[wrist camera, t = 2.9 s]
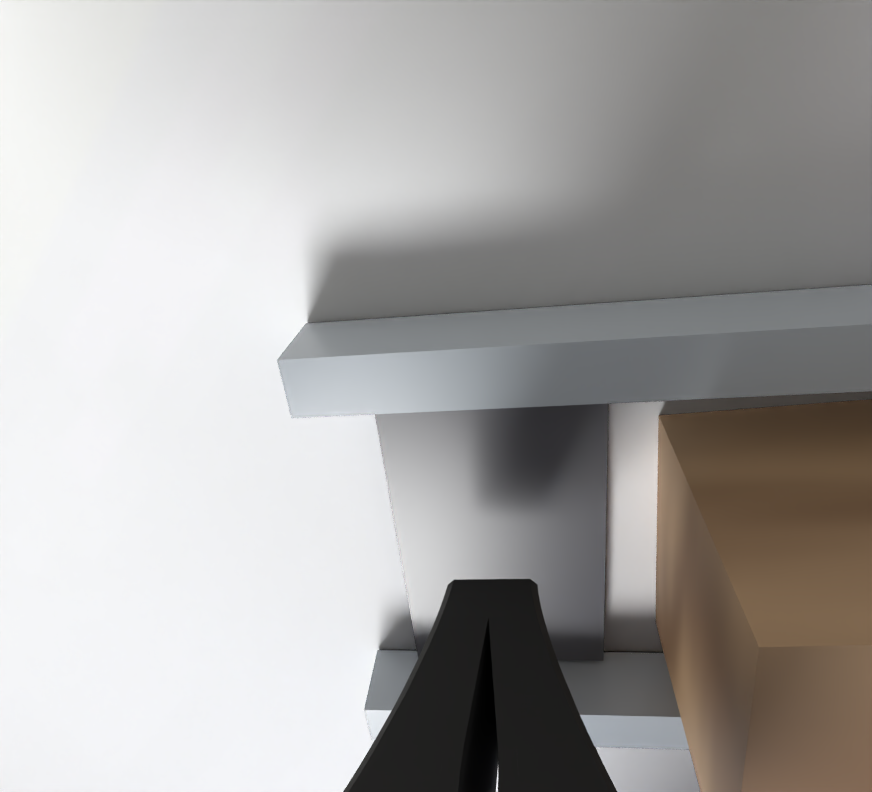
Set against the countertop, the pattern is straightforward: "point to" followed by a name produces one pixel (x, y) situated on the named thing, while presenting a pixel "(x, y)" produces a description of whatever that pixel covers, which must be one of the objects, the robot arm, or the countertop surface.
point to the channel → (553, 450)
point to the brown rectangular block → (769, 593)
